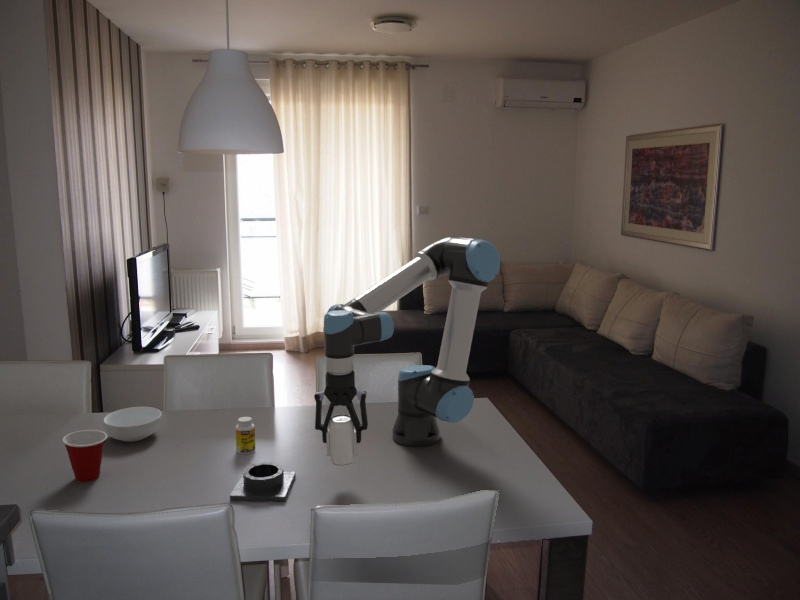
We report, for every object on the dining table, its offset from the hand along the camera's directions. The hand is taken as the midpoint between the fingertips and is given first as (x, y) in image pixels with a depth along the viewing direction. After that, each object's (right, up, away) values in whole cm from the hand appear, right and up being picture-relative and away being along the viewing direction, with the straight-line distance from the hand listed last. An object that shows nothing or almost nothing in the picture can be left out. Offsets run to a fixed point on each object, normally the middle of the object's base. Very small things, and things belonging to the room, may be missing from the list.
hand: (342, 453), depth 167 cm
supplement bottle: (-31, -5, +22) cm, 38 cm away
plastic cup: (-69, -8, +4) cm, 70 cm away
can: (0, -2, 0) cm, 2 cm away
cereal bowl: (-69, -3, +32) cm, 76 cm away
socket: (-21, -9, -1) cm, 22 cm away
